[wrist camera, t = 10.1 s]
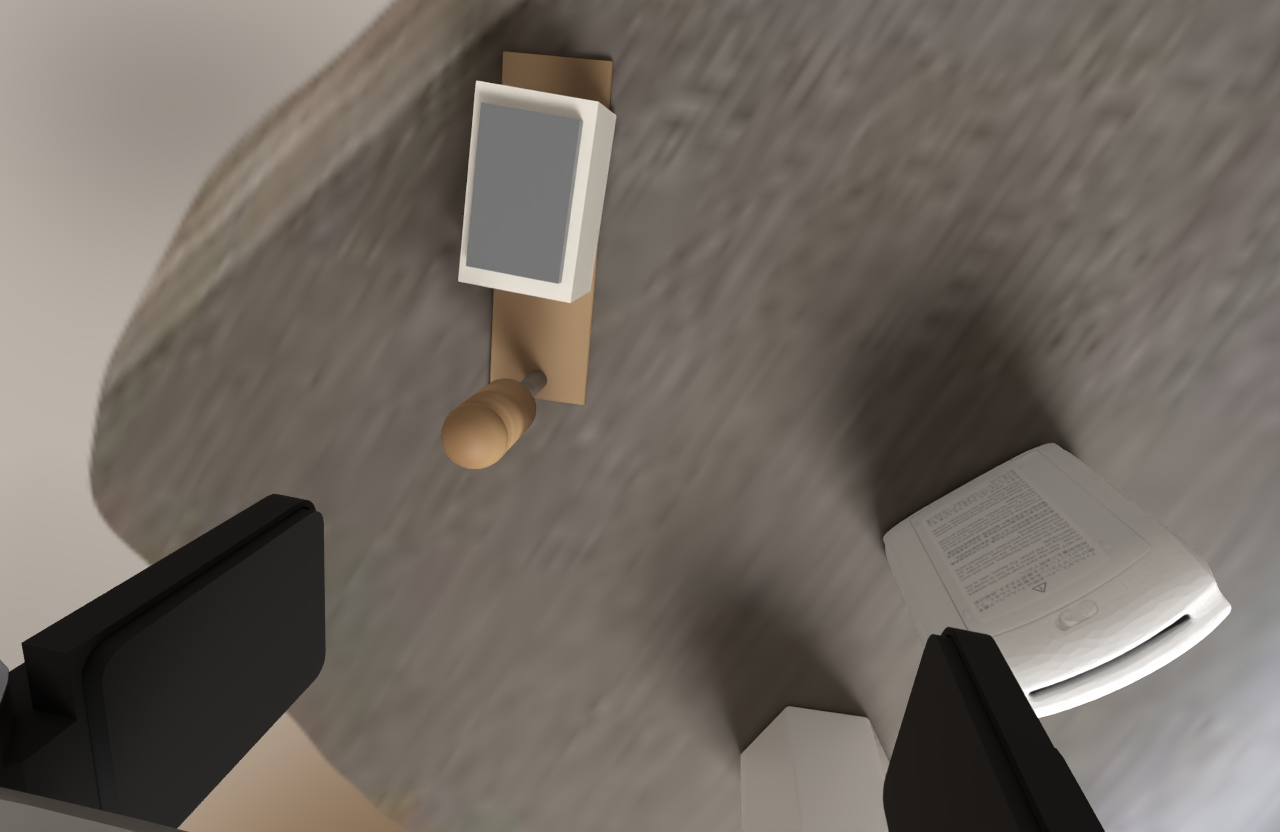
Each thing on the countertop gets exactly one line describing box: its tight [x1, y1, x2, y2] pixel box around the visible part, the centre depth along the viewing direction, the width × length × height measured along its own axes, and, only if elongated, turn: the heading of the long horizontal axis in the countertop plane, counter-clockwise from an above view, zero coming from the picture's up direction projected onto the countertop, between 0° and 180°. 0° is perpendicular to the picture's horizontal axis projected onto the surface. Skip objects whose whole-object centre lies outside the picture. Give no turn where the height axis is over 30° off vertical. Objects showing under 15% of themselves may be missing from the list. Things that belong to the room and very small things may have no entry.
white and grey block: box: [458, 81, 616, 303], centre depth 30 cm, size 5×8×5 cm, turn 171°
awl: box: [441, 370, 547, 469], centre depth 30 cm, size 3×3×10 cm
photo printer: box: [883, 443, 1231, 718], centre depth 29 cm, size 10×4×12 cm, turn 128°
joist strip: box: [490, 51, 613, 405], centre depth 33 cm, size 5×16×1 cm, turn 175°
